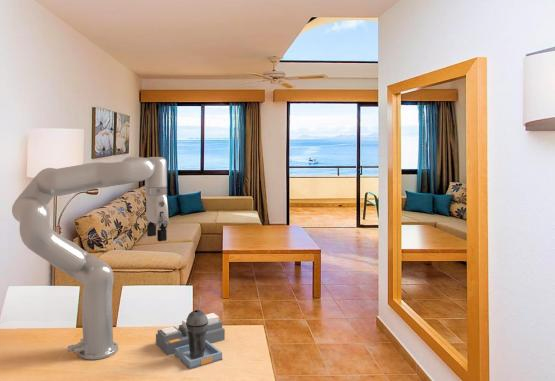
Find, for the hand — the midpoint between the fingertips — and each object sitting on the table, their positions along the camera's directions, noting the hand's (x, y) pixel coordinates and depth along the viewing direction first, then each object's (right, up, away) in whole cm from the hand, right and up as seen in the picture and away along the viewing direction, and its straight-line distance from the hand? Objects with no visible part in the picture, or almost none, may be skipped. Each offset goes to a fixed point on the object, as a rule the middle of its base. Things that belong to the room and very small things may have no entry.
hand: (156, 238), depth 169 cm
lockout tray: (+17, -38, -14) cm, 44 cm away
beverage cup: (+17, -38, -14) cm, 44 cm away
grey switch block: (+13, -37, -2) cm, 39 cm away
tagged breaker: (+6, -33, -7) cm, 35 cm away
